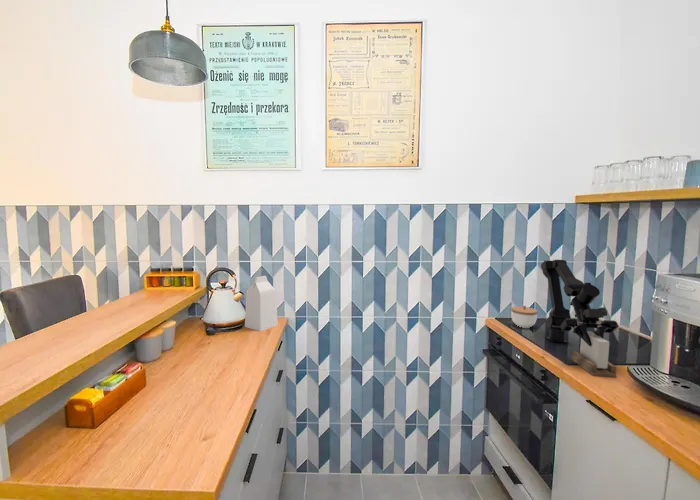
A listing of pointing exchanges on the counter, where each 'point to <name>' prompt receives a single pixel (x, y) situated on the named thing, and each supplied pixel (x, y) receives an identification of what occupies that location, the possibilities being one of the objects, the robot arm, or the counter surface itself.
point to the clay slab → (596, 350)
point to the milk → (261, 305)
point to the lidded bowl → (524, 316)
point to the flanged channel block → (593, 366)
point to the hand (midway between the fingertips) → (596, 346)
